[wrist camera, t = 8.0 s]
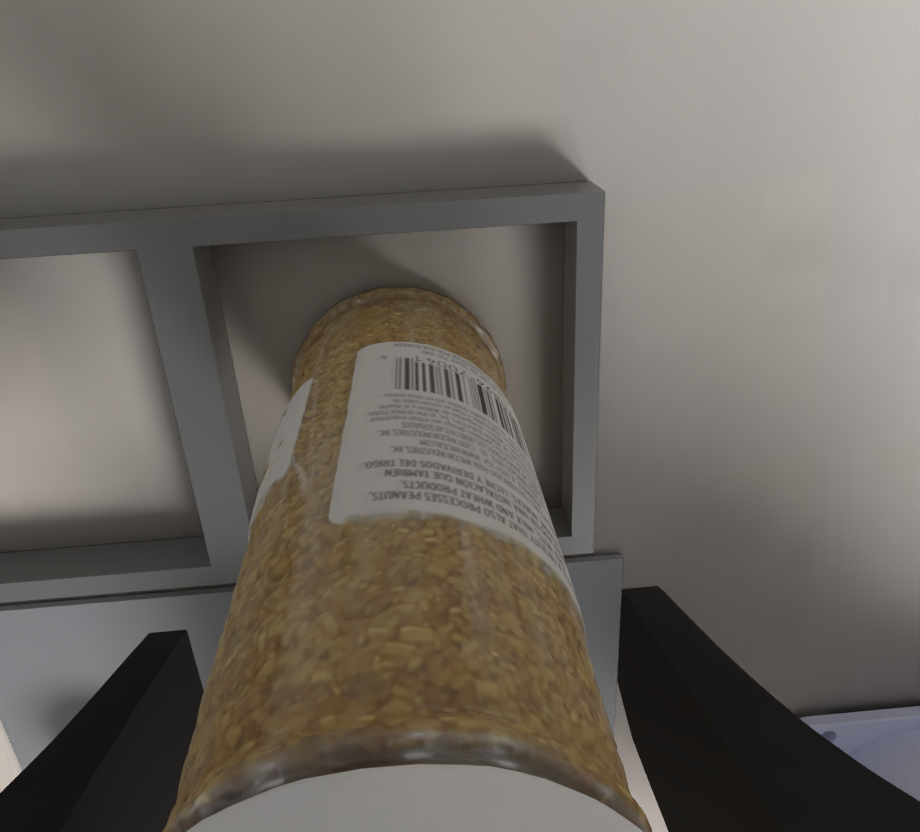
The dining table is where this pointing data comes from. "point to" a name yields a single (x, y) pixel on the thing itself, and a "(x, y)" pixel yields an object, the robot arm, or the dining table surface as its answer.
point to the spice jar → (402, 608)
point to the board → (195, 645)
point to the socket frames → (213, 377)
